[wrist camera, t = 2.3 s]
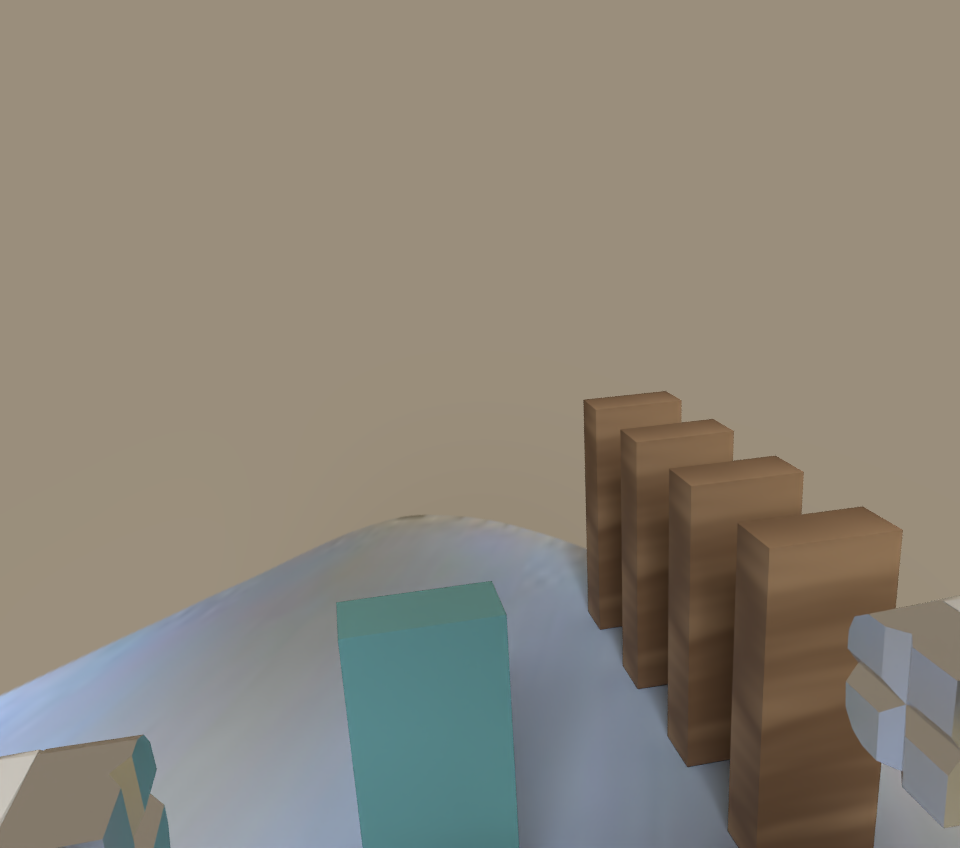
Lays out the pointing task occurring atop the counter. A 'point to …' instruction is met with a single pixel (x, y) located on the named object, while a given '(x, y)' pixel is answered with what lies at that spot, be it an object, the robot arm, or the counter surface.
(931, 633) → the robot arm
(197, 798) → the counter surface
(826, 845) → the domino
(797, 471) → the domino
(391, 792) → the domino
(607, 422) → the domino
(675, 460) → the domino
